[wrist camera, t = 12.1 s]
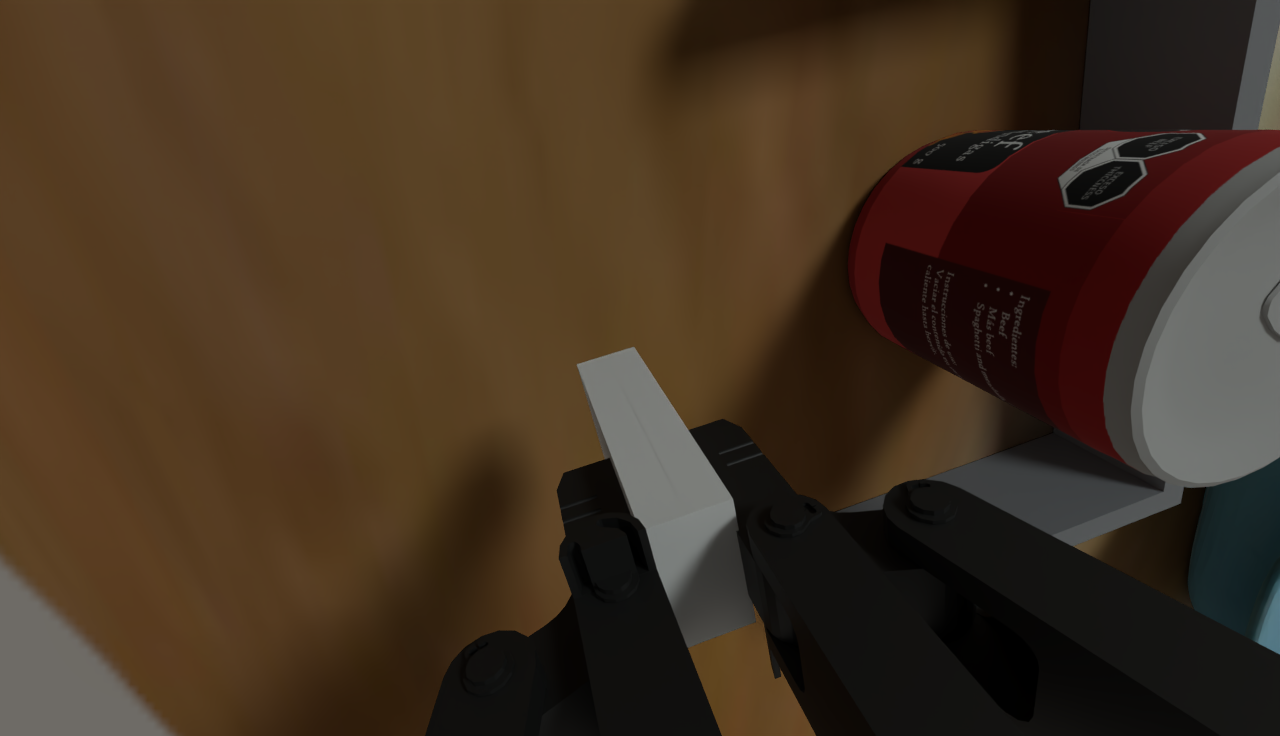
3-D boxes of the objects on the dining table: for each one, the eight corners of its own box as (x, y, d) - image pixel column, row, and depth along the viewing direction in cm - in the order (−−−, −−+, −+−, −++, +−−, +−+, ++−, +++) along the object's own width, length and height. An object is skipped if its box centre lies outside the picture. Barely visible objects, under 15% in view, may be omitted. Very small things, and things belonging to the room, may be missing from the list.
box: (747, -121, 17) (845, -213, 12) (1135, -200, 18) (1347, -306, 14) (823, 534, 27) (893, 616, 22) (1069, 443, 28) (1180, 503, 24)
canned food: (1056, 169, 23) (1505, 203, 13) (957, 360, 25) (1273, 514, 15) (902, 94, 20) (1313, 62, 10) (807, 314, 22) (1068, 463, 12)
